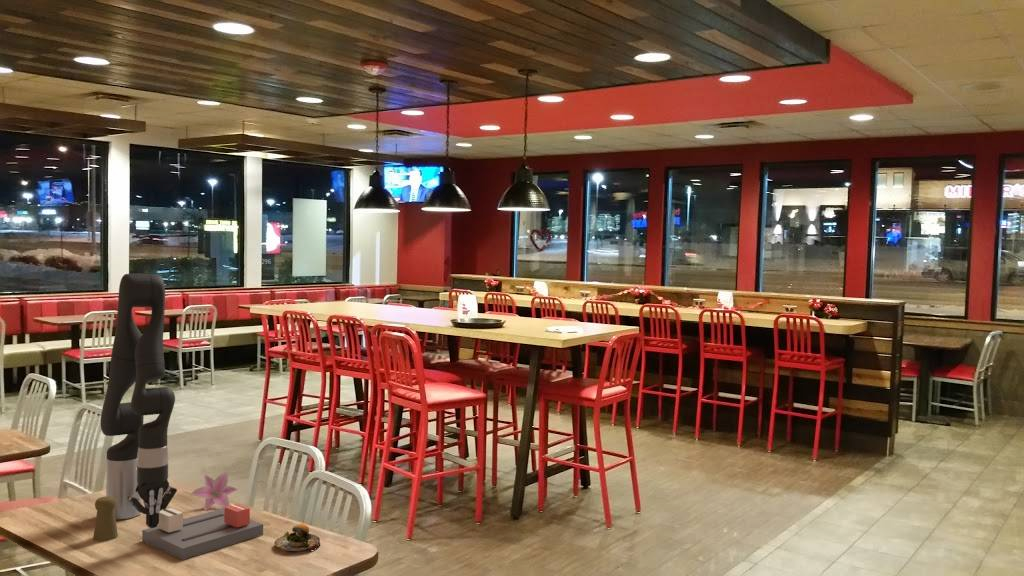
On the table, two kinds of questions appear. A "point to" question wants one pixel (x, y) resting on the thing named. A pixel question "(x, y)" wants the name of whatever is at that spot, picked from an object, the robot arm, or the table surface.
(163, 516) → the block
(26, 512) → the table surface
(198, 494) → the lily
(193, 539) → the console
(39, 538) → the table surface
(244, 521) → the block
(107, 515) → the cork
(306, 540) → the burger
